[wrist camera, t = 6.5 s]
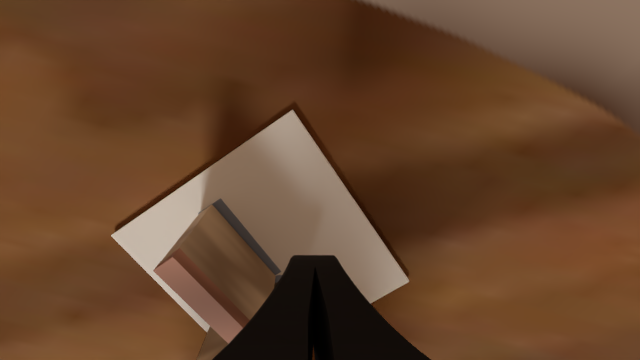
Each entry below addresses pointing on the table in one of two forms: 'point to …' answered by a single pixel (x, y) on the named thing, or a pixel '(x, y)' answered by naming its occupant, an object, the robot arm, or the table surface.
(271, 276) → the folding panel
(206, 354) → the fixed panel
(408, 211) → the table surface
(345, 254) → the card
